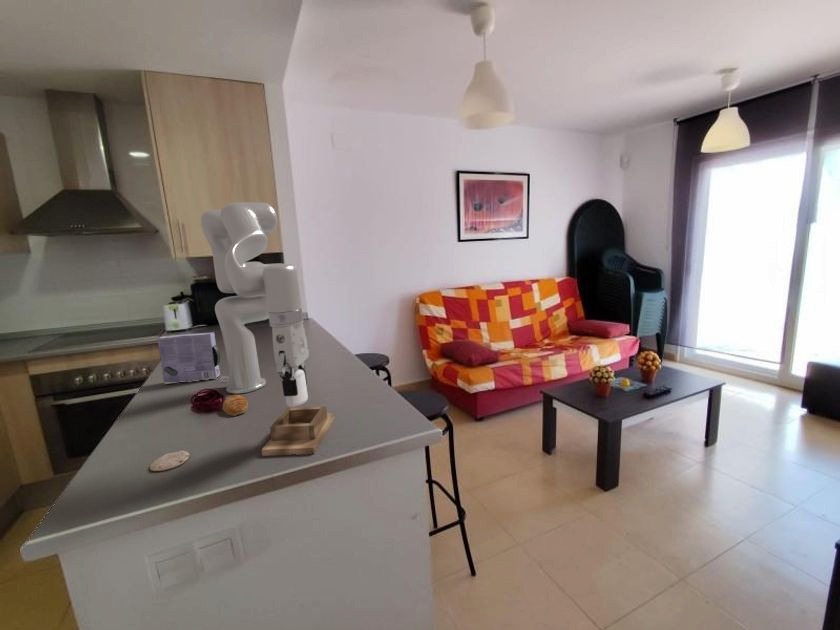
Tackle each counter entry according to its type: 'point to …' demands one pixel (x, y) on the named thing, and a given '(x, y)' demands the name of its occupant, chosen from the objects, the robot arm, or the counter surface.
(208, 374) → the cake pan box
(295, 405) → the eye dropper bottle
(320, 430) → the holder stand
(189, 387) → the counter surface
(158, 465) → the flatbread
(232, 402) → the pastry
